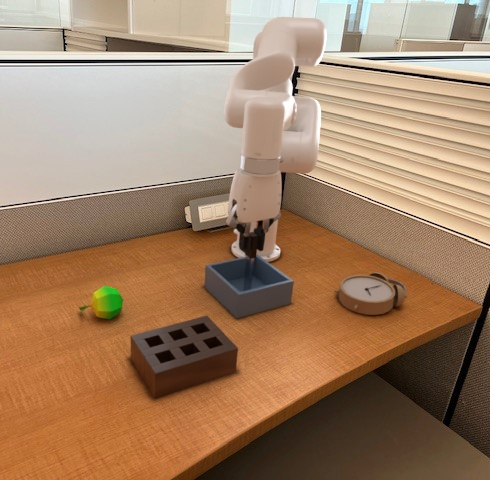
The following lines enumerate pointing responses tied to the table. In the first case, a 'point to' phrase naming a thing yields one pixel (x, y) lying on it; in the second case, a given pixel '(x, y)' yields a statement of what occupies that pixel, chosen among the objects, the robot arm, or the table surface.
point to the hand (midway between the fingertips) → (251, 249)
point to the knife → (250, 262)
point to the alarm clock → (371, 293)
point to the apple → (105, 302)
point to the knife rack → (182, 355)
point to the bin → (262, 289)
